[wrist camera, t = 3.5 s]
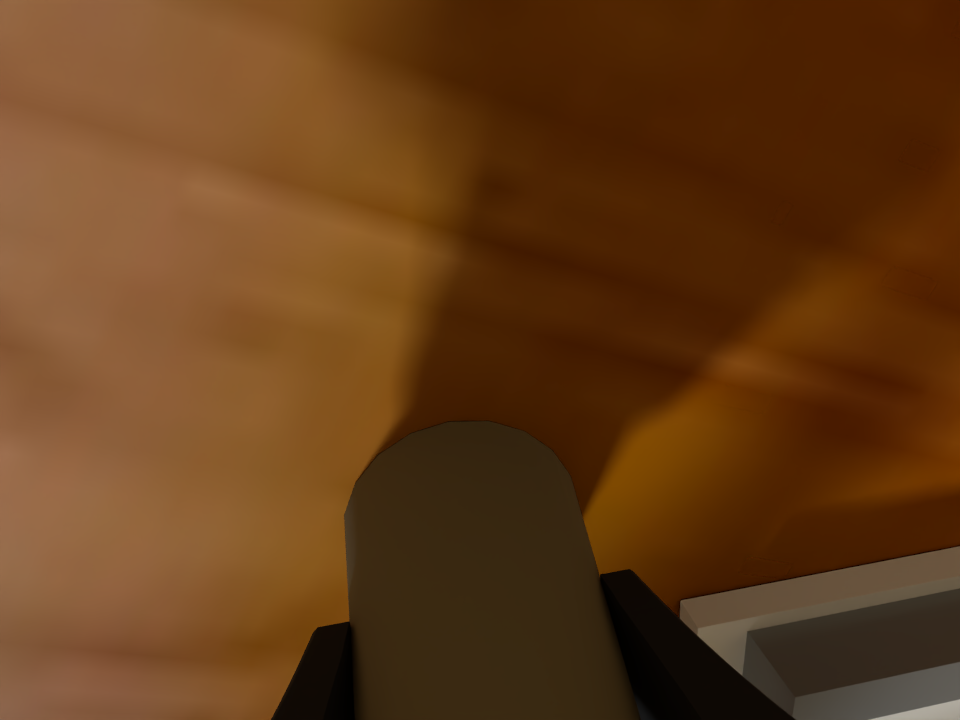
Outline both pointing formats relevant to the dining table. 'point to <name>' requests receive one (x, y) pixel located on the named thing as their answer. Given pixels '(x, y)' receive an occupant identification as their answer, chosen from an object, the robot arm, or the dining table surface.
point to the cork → (477, 585)
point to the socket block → (846, 639)
